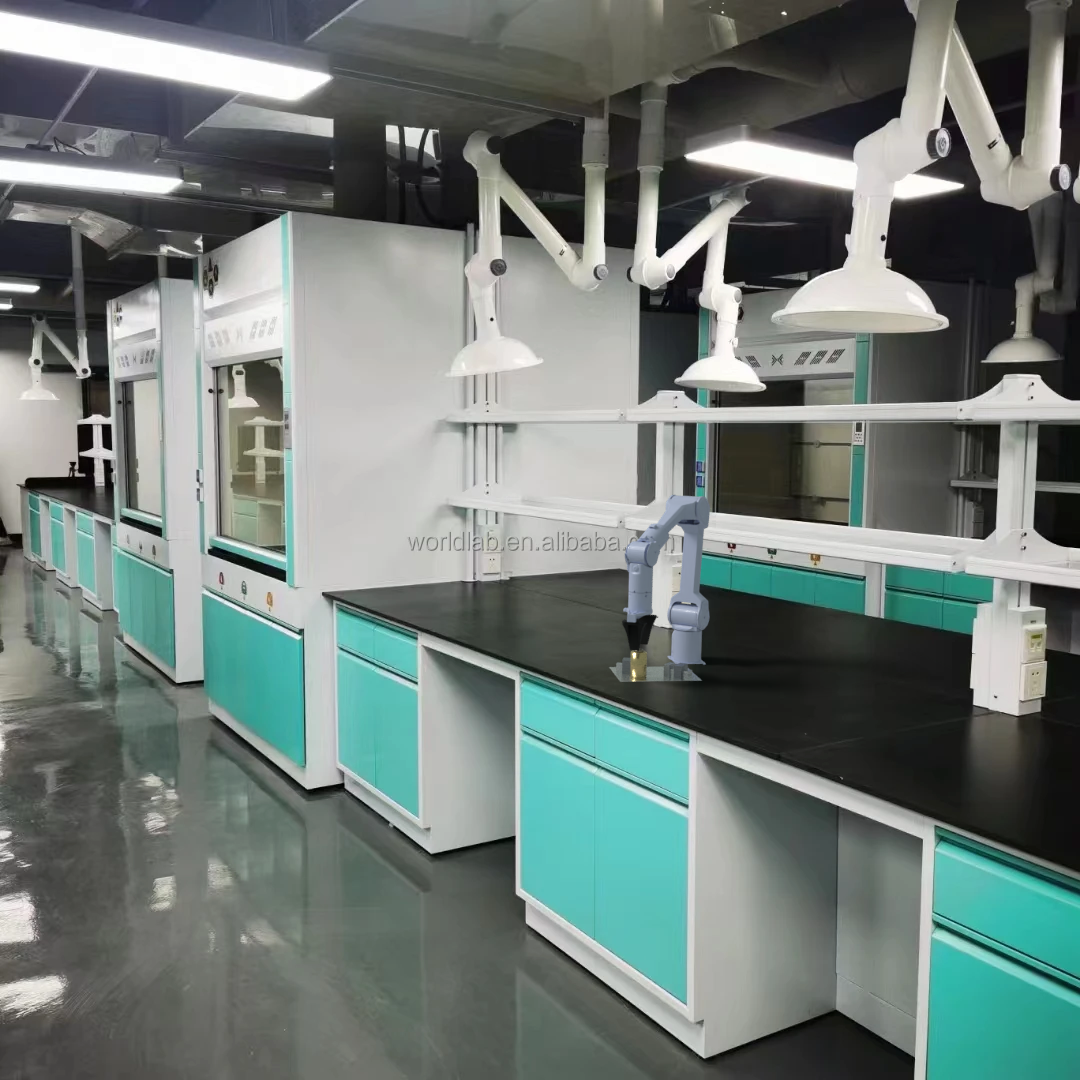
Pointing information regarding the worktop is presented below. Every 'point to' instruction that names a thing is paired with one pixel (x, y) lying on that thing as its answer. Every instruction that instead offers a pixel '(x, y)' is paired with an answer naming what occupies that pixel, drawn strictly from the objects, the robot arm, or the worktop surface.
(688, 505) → the robot arm
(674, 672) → the shaft rig
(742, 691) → the worktop surface
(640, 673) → the cylinder
